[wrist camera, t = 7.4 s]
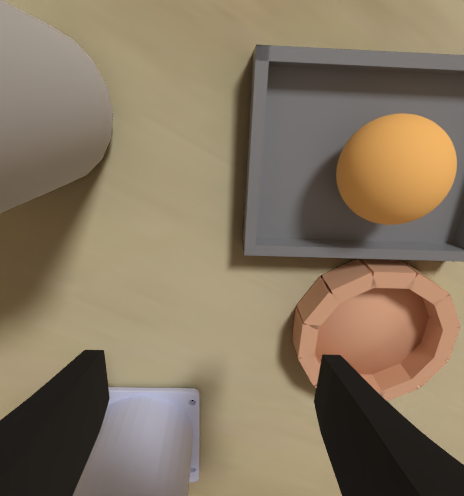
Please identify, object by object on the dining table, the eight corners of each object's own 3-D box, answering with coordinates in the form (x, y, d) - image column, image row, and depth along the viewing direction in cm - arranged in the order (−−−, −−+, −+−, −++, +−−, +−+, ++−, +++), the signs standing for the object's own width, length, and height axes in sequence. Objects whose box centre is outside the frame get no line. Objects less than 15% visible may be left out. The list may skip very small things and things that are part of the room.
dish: (418, 381, 24) (434, 403, 22) (286, 379, 24) (291, 401, 22) (455, 260, 21) (478, 274, 19) (302, 256, 20) (310, 270, 18)
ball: (407, 210, 19) (467, 239, 14) (319, 209, 19) (350, 239, 14) (426, 114, 17) (502, 112, 12) (329, 113, 17) (369, 110, 12)
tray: (454, 249, 20) (475, 261, 19) (242, 243, 20) (244, 255, 18) (511, 65, 17) (543, 59, 15) (252, 52, 16) (256, 44, 15)
